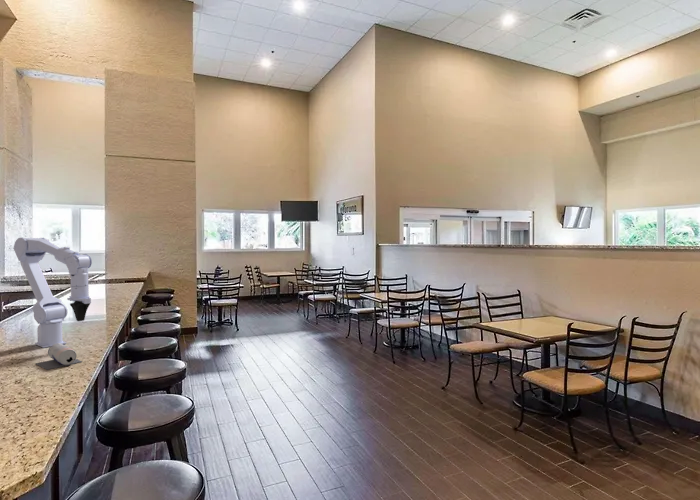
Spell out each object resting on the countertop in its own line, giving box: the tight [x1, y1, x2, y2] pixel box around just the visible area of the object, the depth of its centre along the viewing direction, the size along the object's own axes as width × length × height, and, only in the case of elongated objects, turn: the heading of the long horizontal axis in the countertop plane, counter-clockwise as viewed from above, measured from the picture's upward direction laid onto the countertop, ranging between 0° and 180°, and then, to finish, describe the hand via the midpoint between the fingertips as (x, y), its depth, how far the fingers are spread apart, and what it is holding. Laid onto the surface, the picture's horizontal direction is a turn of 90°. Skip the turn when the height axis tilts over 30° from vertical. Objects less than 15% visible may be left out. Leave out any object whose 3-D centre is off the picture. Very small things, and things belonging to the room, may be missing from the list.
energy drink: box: [47, 343, 77, 366], centre depth 136 cm, size 5×5×12 cm
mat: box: [35, 358, 83, 371], centre depth 135 cm, size 10×10×1 cm
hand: (80, 320), depth 155 cm, fingers closed
